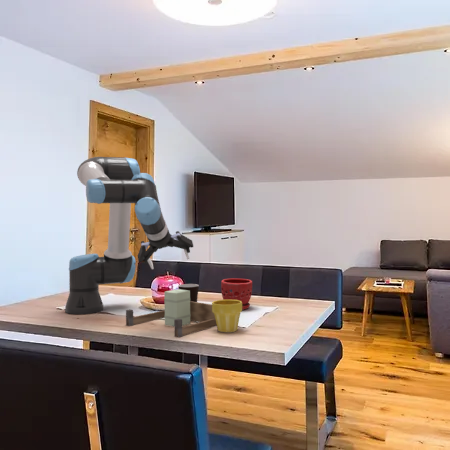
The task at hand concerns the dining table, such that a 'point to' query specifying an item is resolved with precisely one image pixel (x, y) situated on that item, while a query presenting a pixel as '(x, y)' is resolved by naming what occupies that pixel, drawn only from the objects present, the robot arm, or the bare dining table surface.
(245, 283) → the plant pot
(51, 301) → the dining table surface
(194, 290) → the coffee mug
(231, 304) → the plant pot
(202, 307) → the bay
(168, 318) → the pale green box
